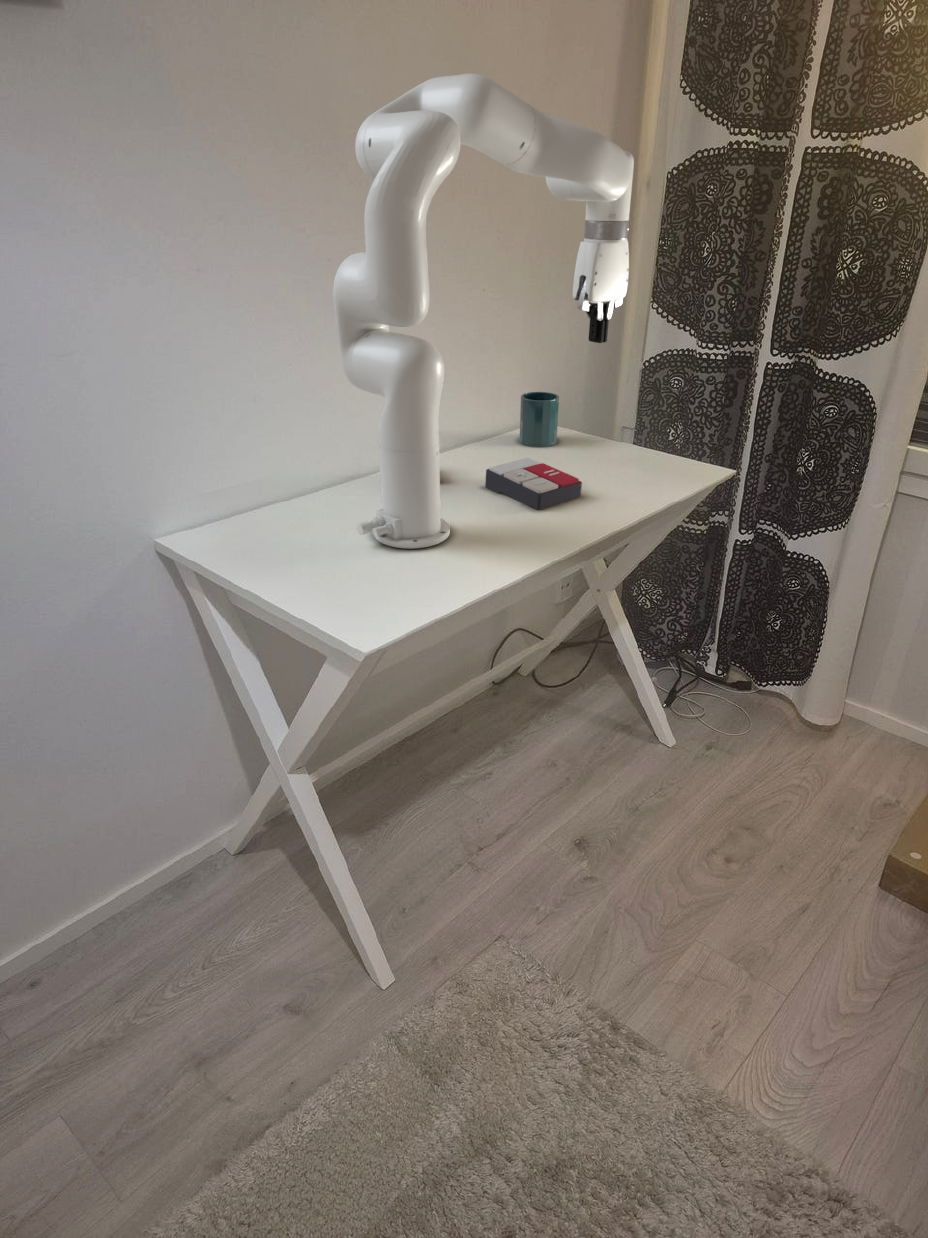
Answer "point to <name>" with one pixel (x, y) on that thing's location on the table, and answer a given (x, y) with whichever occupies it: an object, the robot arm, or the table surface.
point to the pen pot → (539, 419)
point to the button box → (533, 483)
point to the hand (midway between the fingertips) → (597, 341)
